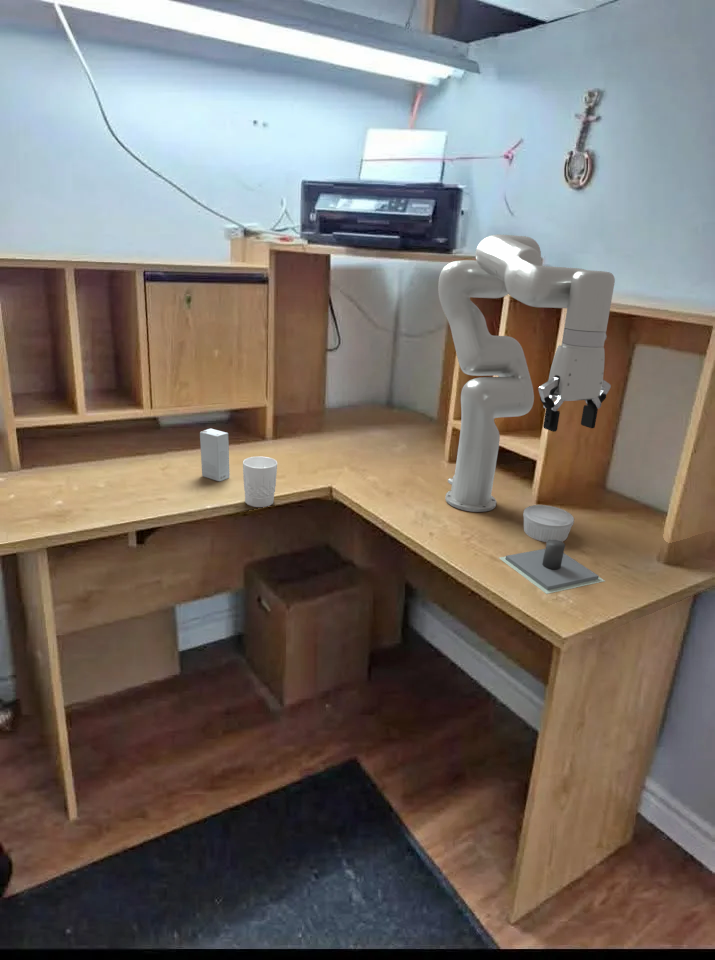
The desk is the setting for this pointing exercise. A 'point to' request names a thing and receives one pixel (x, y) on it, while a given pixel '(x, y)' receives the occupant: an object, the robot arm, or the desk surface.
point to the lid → (551, 566)
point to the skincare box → (214, 454)
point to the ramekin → (547, 523)
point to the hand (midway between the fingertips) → (568, 428)
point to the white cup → (259, 480)
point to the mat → (551, 589)
